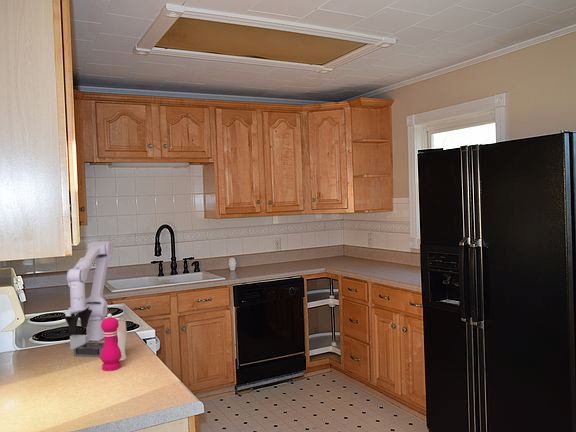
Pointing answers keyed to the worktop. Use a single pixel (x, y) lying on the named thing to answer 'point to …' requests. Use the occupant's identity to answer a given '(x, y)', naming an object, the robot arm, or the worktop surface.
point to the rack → (89, 349)
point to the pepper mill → (110, 344)
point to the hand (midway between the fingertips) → (78, 329)
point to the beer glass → (121, 337)
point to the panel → (78, 340)
